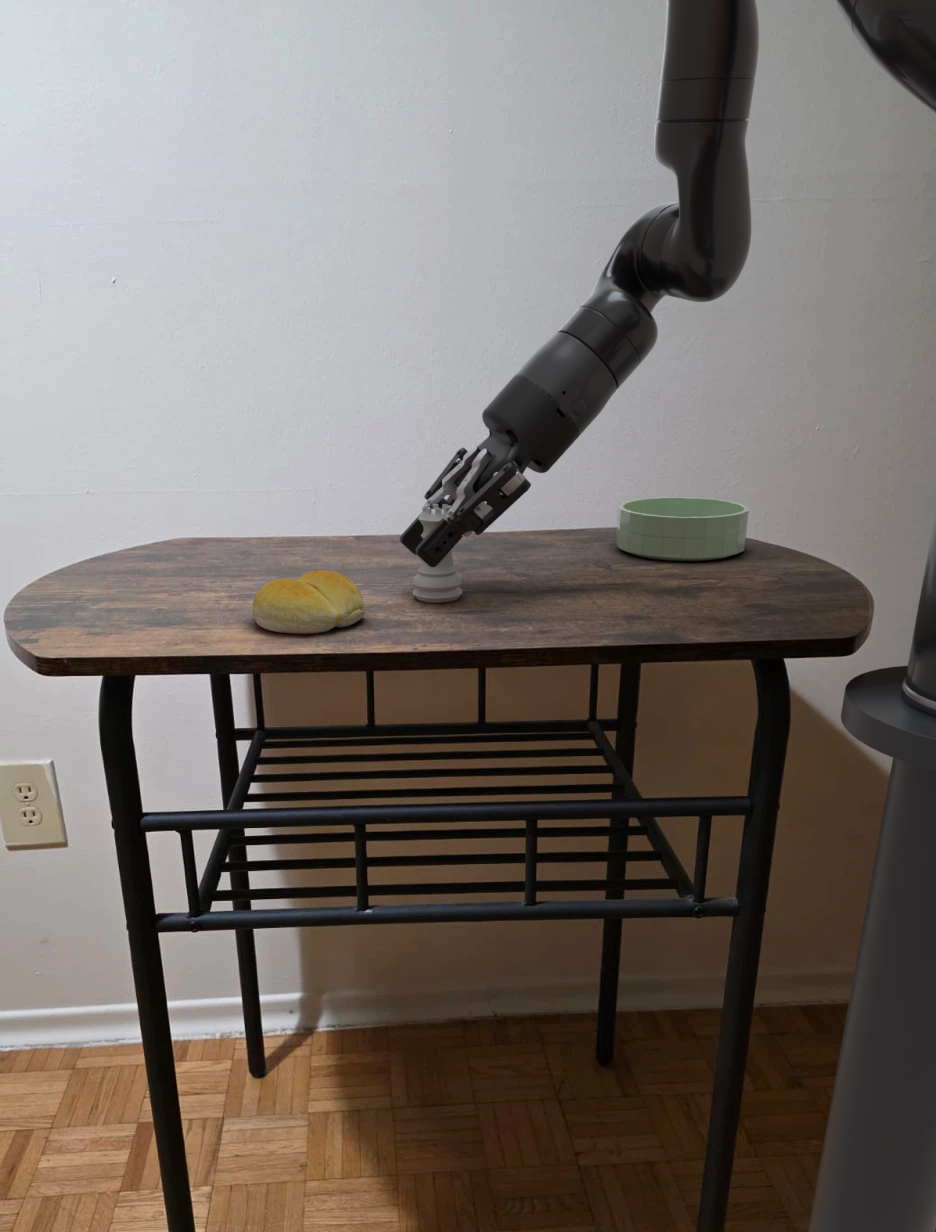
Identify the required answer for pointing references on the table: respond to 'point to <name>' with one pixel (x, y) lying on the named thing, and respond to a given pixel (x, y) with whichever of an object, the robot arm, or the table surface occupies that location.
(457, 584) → the rook chess piece
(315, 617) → the bread roll
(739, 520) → the bowl
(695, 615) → the table surface
